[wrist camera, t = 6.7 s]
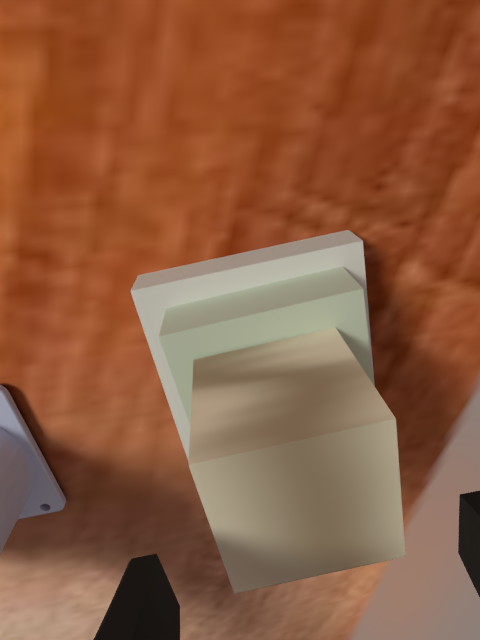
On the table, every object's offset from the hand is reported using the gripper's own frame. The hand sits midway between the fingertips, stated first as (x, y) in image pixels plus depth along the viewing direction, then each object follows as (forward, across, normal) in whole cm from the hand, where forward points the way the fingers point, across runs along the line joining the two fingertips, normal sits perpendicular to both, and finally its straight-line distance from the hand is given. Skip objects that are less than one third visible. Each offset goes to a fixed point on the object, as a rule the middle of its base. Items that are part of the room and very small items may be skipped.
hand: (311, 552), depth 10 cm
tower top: (+9, 0, 0) cm, 9 cm away
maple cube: (+6, 0, 0) cm, 6 cm away
